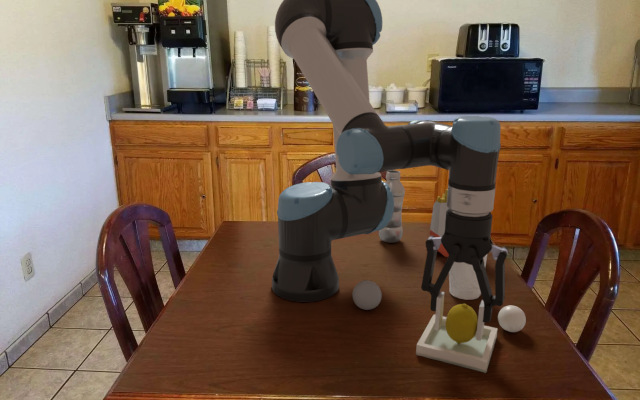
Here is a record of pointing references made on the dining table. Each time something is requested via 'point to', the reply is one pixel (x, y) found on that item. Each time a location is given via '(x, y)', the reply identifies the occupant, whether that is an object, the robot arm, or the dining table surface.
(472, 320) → the lemon
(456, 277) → the white cup
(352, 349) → the dining table surface
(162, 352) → the dining table surface
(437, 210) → the french fries container
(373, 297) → the grey rubber ball
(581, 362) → the dining table surface
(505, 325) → the white plastic ball
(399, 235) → the plastic bottle
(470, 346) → the square dish
